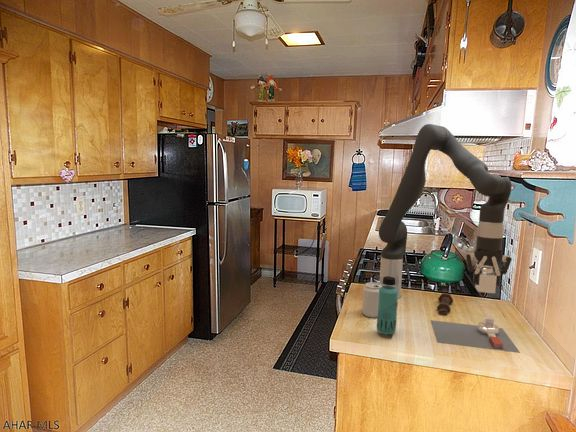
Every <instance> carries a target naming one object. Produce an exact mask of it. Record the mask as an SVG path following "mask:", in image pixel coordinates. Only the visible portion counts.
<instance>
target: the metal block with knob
mask: <svg viewBox="0 0 576 432" xmlns="http://www.w3.org/2000/svg"><path fill="white" fill-rule="evenodd" d="M478 274H479V279H478V285H476V284H475V283H474V288H475V289H476V291H477V292H479V293H487V294H496V288H497V287H496V279H497V275H496V274H495V273H494V268H493V267H492V266H489V265H486V266H484V265H483V266H482V268H481V269H480V271H479V273H478Z"/></svg>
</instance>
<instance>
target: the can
mask: <svg viewBox="0 0 576 432" xmlns="http://www.w3.org/2000/svg"><path fill="white" fill-rule="evenodd" d="M381 287H382V285H381V284H379V282H366V283H365V284H364V286H363V289H362V309H361V313H363V315H364V316H366V317H367V318H373V319H374V318H375V319H377V316H378V302H379V289H380V288H381Z"/></svg>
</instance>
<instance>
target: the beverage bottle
mask: <svg viewBox="0 0 576 432" xmlns="http://www.w3.org/2000/svg"><path fill="white" fill-rule="evenodd" d="M383 284H385V285H386V286H382V287H381V288H380V289H379V302H378V316H377V318H376V330H377V331H378V332H379V333H380V334H384V335H393V334H395V333H396V330H397V319H398V318H397V315H398V314H397V313H398V311H397V310H398V304H399V303H398V298H397V297H398V290H397V289H396V288H395V287H393V286H388V285H395V278H394V277H390V276H385V277H383Z"/></svg>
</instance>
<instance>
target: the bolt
mask: <svg viewBox="0 0 576 432" xmlns="http://www.w3.org/2000/svg"><path fill="white" fill-rule="evenodd" d="M438 302H439V303H438V305H437V306H436V309H437V311H438V315H441V316H447V315H448V314H449V313H450V312H451V310H452V309H451V306H452V304H454V303H453V302H454V298H453V296H452V295H451V293H448V292H447V293H446V292H442V293H441V294H440V295H439V296H438ZM450 305H451V306H450Z"/></svg>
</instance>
